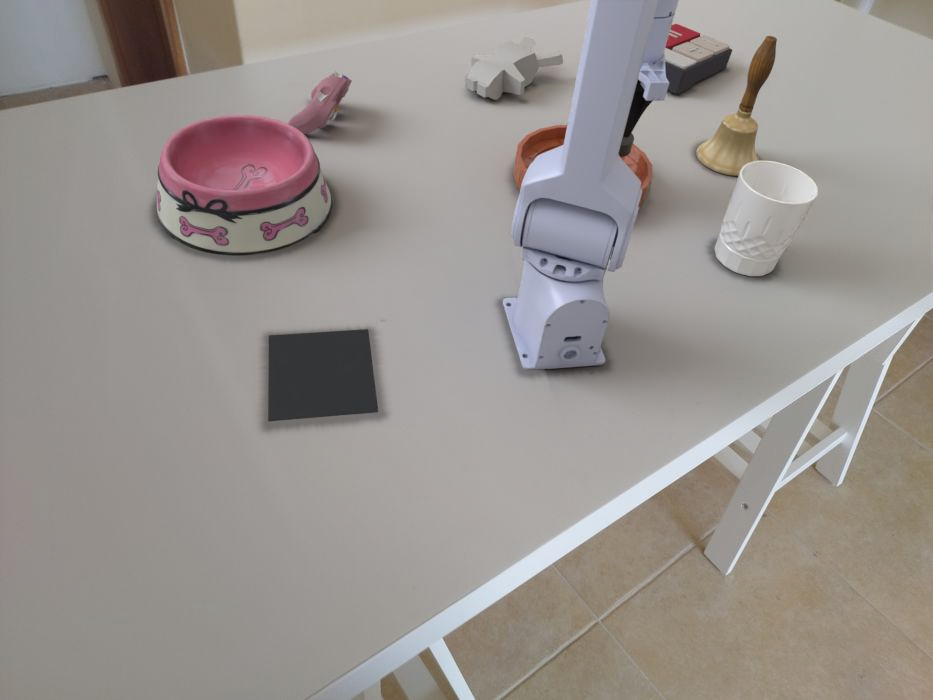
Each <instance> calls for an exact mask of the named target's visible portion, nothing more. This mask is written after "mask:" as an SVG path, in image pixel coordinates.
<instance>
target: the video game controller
mask: <svg viewBox="0 0 933 700" xmlns="http://www.w3.org/2000/svg"><path fill="white" fill-rule="evenodd" d="M352 81H353V80H352V79H350V78H349V76H346V75H344V74H342V73H341V74H339V73H338V72H337V71H335V72H334V73H332V74H330V75H328V76H327V77H324V78H323V79H322V80H321V81H319V83H318V84H317V85H316V86H315V87H314V88H313V89H312V90H311V93H310V97H311V100H310V102H309V104H308V105H307V106H306V107H305V108H303V109H302V110H301V111H299V112H298V113H296V114H295V115H293V116H292V117H291V118H290V119H289V121H288V123H287V124H289V125H291V126H293V127H295V128H296V129H298V130H299V131H301V132H302V133H303V134H304V135H307V134H310V133H312V132H314V131H316V130H317V129H318V128H319V129H321V130H323V129H324V127H325V126H326V124H327V123H328V121H329V120H330V121H331V122H333V121H334V120H335V119H336V117H337V114H338V112H339V108H338V106H339V105H340V103H341V101H343V98H345V97H346V95H347V94H348V92H349V88H350V86H351V84H352Z"/></svg>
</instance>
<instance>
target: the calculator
mask: <svg viewBox="0 0 933 700" xmlns="http://www.w3.org/2000/svg"><path fill="white" fill-rule="evenodd" d="M730 46H731V45H729V44H728V43H725V42H722V41H721V40H718V39H715V38H714V37H713V38H712V37H710V36H708V35H706V34H703V35H701V33H700V32H698V31H695V30H693V29H691V28H688V27H686V26H683V25H681V24H678V23H672V26H671V29H670V33H669V36H668V40H667V43H666V47H665V50H664V53H665V70H666V78H667V80H668V81H669V86H668V90H667V91H669V92H671V93H674V94H676V95H678V94H681V93H683V92H685V91H687V90H689V89H691V88H692V87H693V85H694V84H695V83H697V82H699V81H701V80H703V79H705V78H708V77H710V76H712V75H715V74H717V73H719V72H721V71H723V70H725V69H727V65H728V64H729V61H730V59H731V55H732V53H733V49H732V48H730Z"/></svg>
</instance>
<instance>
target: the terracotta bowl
mask: <svg viewBox="0 0 933 700" xmlns="http://www.w3.org/2000/svg"><path fill="white" fill-rule="evenodd" d="M566 129H567V124H562V125H561V124H560V125H559V124H557V125H556V124H555V125H552V126H546V127H541V128H538V129H536V130H534V131H531V132H530V133H528V134H526V135H525V136H524V137H523V138H522V139H521V140H520V142H519V143H518V144H517V147H516V153H515V159H514V167H513V172H512V177H513V180H514V183H515V185H516V188H517V190H518V191H519V192H520V189H521V184H522V181H523V179H524V176H525V174H526V171H527V169H528V167H529V166H530V164H531V163H532V162H533V161H534V159H535V158H536V157H537V156H538V155H540V154H542V153H544V152H547V151H549V150H552V149H554V148H557V147H560V146H562V145H564V140H565V135H566ZM621 159H622V160H623V161H624V162H625V163H626V165H627V166H628V167H629V168H630V169H631V170H632V171H633V172H634V173H635V175H636V176H637V177H638V178H639V180H640V181H641V186H640V188H641V189H642V195H641V198H640V202H639V205H638V207H639V209H641V207H642V206H643V204H644V203H645V201H646V199H647V198H648V195H649V190H650V187H651V184H652V181H653V177H654V170H653V164H652V162H651V160H650V159H649V158H648V155H647V154H646V153H645V152H644V151H643V150H642V149H641V148H640V147H638V146H637V145H636V144H635V143H633V145H632V149H631V152H630V153H629V154H628V155H627V156H624V157H621Z"/></svg>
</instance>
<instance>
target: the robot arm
mask: <svg viewBox="0 0 933 700" xmlns="http://www.w3.org/2000/svg"><path fill="white" fill-rule="evenodd" d="M679 2H680V0H590V4H589V10H588V13H587V20H586V25H585V30H584V36H583V40H582V46H581V50H580V57H579V62H578V67H577V73H576V77H575V82H574V88H573V94H572V98H571V103H570V108H569V109H570V110H569V114H568V119H567V124H566V125H567V129H566V135H565V140H564V145H562V146H560V147H557V148H554V149H552V150H549V151H547V152H544V153H542V154H540V155H538V156H537V157H536V158H535V159H534V161H533V162H532V163H531V164H530V166H529V167H528V169H527V171H526V174H525V176H524V179H523V181H522V184H521V189H520V191H519V195H518V197H517V201H516V205H515V208H514V212H513V216H512V221H511V227H510V237H511V239H512V241H513V245H514V246H516V247H519V248H522V249H521V254H520V259H521V260H523V261H524V262H523V266H522V272H521V275H520V276H521V277H520V283H519V288H518V292H517V297H505V298H503V299H502V306H503V309H504V312H505V316H506V318H507V322H508V325H509V329H510V332H511V335H512V338H513V342H514V345H515V348H516V351H517V354H518V357H519V361H520V364H521V367H522V368H523V370H527V371H528V370H529V371H530V370H541V369H542V370H543V369H544V370H552V369H564V368H578V367H579V368H580V367H591V366H592V367H593V366H602V365H604V364H605V363H606V361H607V360H606V359H607V358H606V357H605V354H604V352H603V349H602V344H603V341H604V339H605V334H606V331H607V329H608V325H609V323H610V322H609V321H610V310H609V307H608V303H607V301H606V297H605V294H604V293H605V292H604V278H605V274H606V272H607V271H608V272H611V273H614V272H616V270H619V269H620V268H622V267H623V263H624V260H625V257H626V254H627V250H628V247H629V244H630V241H631V237H632V233H633V230H634V228H635V227H634V226H635V224H636V221H637V217H638V214H639V210H640V208H639V207H638V205H639V202H640V198H641V195H642V189H641V188H640V186H641V181H640V180H639V178H638V177H637V176H636V175H635V173H634V172H633V171H632V170H631V169H630V168H629V167H628V166H627V165H626V163H625V162H624V161H623V160H622V159H621V157H620V156H619V154H618V153H619V150H620V146H621V142H622V138H627V137H629V136H630V134H631V133H632V132H633V131H634V129H635V128H636V126H637V123H638V122H639V121H640V119H641V118H642V116H643V114H644V113H645V111H646V110H647V108H648V107H649V106H650V105H651V104H652V102H655V101H656V102H659V101H661V102H662V101H665V99H666V97H667V93H668V91H669V90H668V86H669V81H668V80H667V78H666V70H665V53H664V50H665V47H666V43H667V40H668V36H669V33H670V29H671V26H672V25H673V22H674V18H675V15H676V11H677V7H678V4H679ZM632 134H633V133H632ZM524 356H525V357H524Z"/></svg>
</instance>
